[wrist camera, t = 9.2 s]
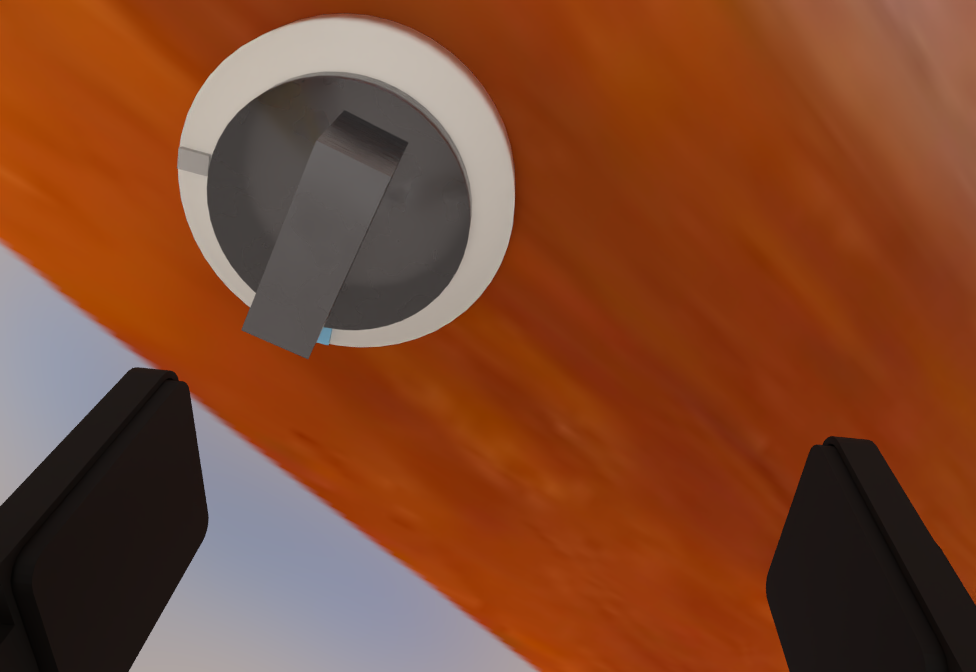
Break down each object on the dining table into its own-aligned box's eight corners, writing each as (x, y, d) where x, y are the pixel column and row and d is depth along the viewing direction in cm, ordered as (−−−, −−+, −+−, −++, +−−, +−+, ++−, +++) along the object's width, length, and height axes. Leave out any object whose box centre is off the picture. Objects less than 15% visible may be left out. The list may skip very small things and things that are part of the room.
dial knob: (265, 19, 32) (210, 42, 26) (517, 150, 34) (515, 197, 28) (188, 252, 37) (128, 313, 32) (409, 352, 40) (390, 425, 34)
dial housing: (556, 69, 36) (559, 82, 33) (469, 350, 43) (466, 381, 40) (217, -32, 34) (188, -27, 31) (190, 278, 42) (165, 305, 39)
